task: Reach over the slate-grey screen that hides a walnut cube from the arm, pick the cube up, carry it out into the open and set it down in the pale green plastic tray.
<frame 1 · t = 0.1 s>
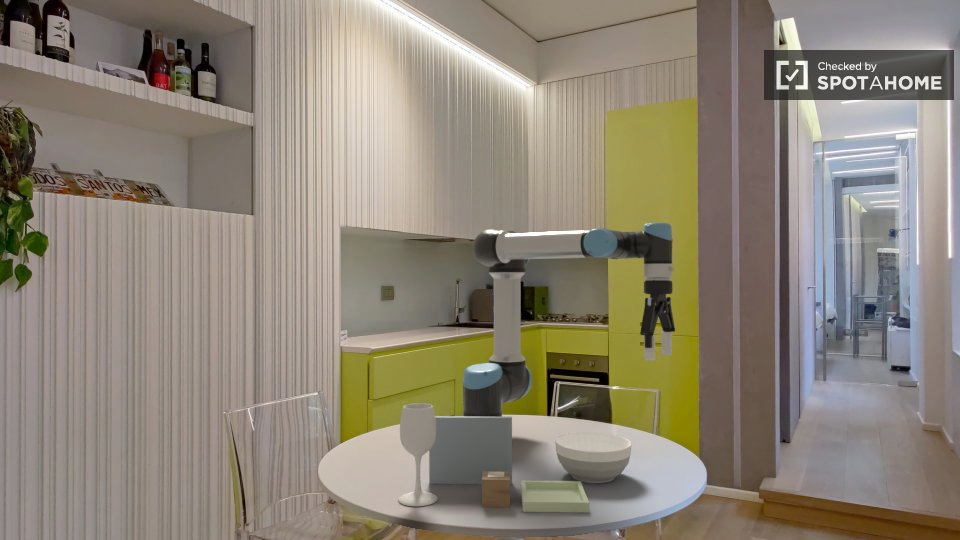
hand: (658, 357, 170), 28 cm above the table, fingers open, 13 cm apart
bowl: (593, 477, 157), on the table
wineglass: (418, 500, 140), on the table
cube: (496, 502, 139), on the table
tray: (553, 500, 140), on the table
screen: (470, 483, 151), on the table
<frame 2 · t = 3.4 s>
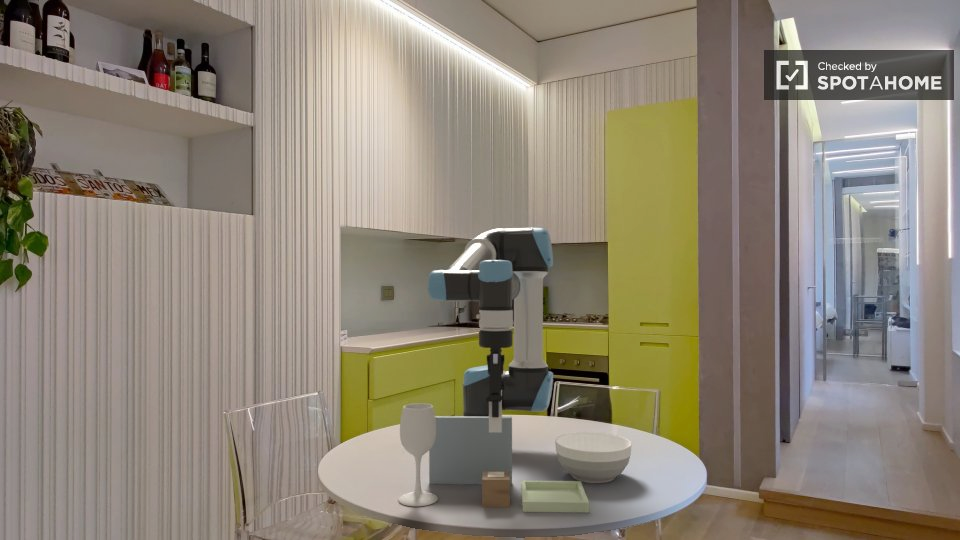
hand: (495, 424, 139), 17 cm above the table, fingers open, 13 cm apart
nothing on the table moved.
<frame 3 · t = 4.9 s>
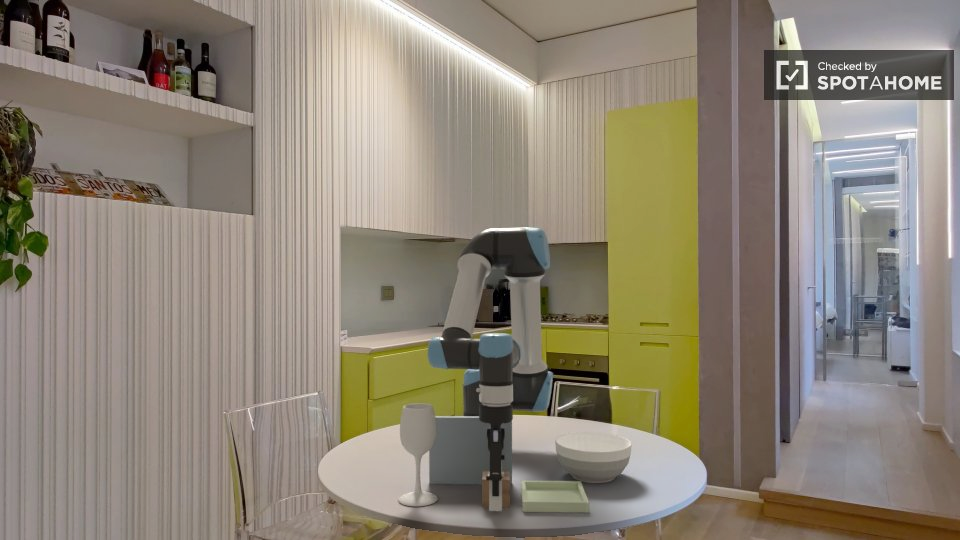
hand: (495, 499, 139), 1 cm above the table, fingers open, 13 cm apart
nothing on the table moved.
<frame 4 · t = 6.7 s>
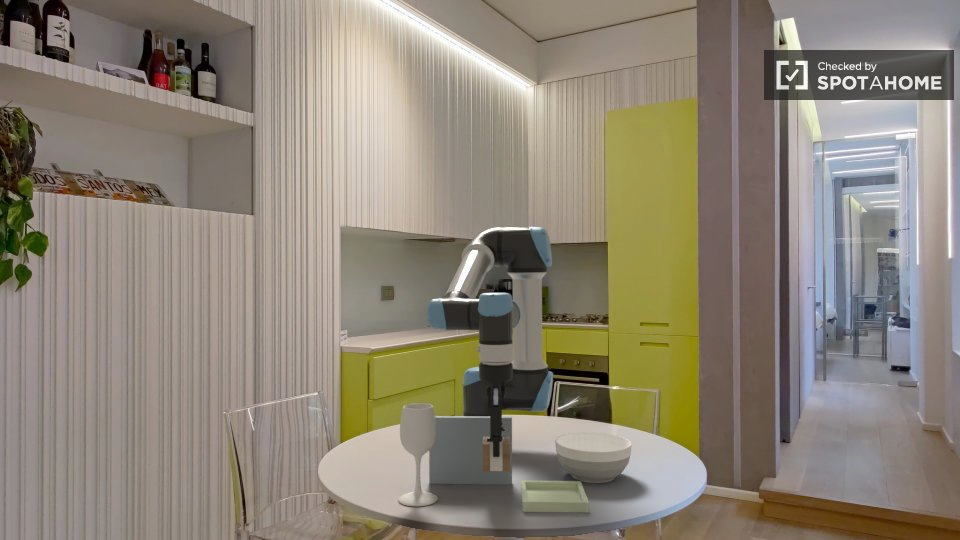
hand: (496, 465, 139), 8 cm above the table, fingers closed on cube, 6 cm apart
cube: (496, 467, 139), point 8 cm above the table, touching gripper
everything else where it was.
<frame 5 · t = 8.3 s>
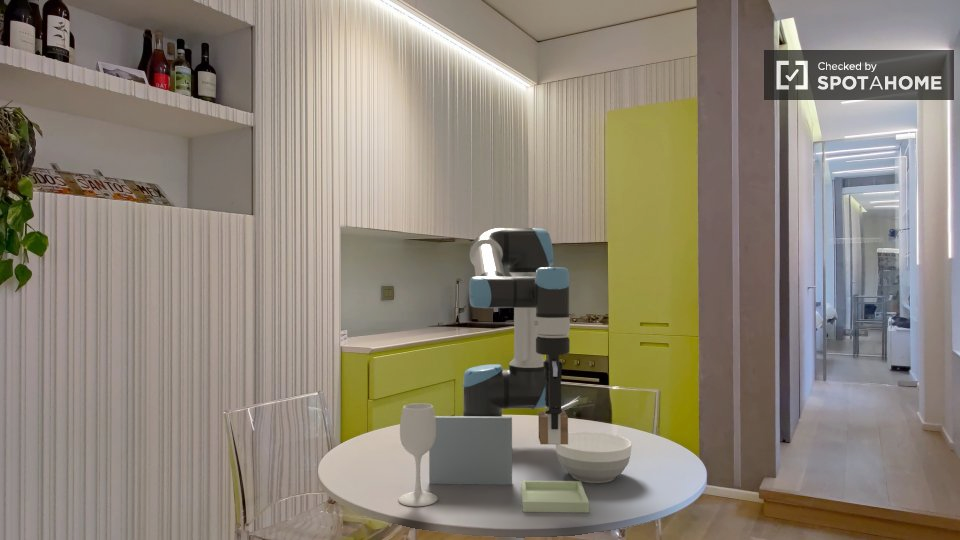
hand: (552, 439, 140), 14 cm above the table, fingers closed on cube, 6 cm apart
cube: (553, 440, 140), point 13 cm above the table, touching gripper
everything else where it was.
when the fingers open (3 cm above the table, at t = 10.1 s): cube drops 2 cm, resting on tray.
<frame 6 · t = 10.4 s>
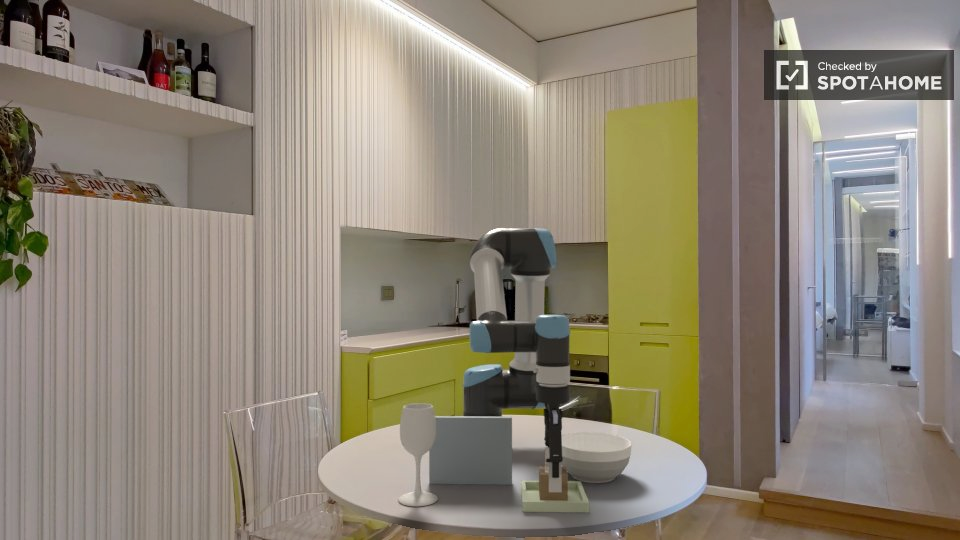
hand: (553, 483, 140), 4 cm above the table, fingers open, 10 cm apart
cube: (553, 497, 140), point 1 cm above the table, touching tray
everything else where it was.
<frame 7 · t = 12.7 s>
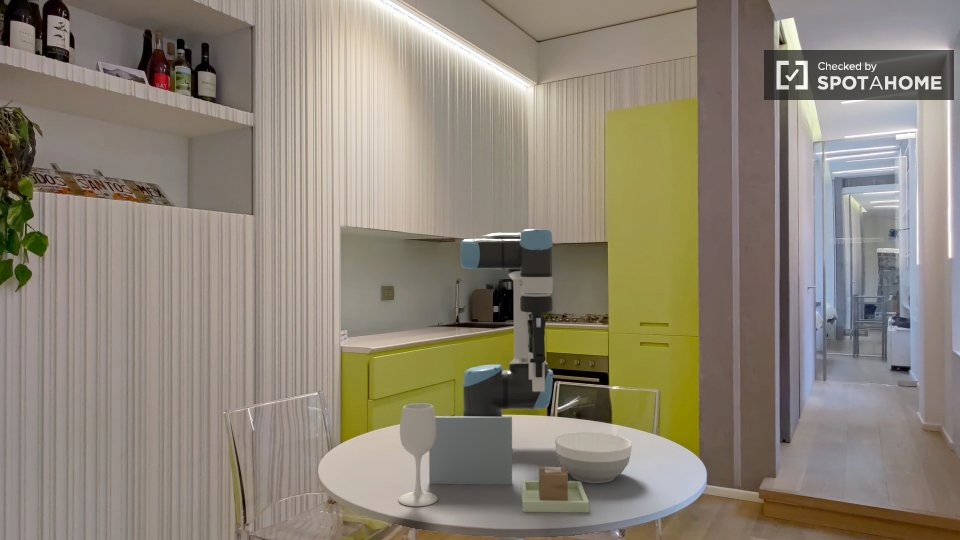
hand: (536, 385, 147), 24 cm above the table, fingers open, 13 cm apart
nothing on the table moved.
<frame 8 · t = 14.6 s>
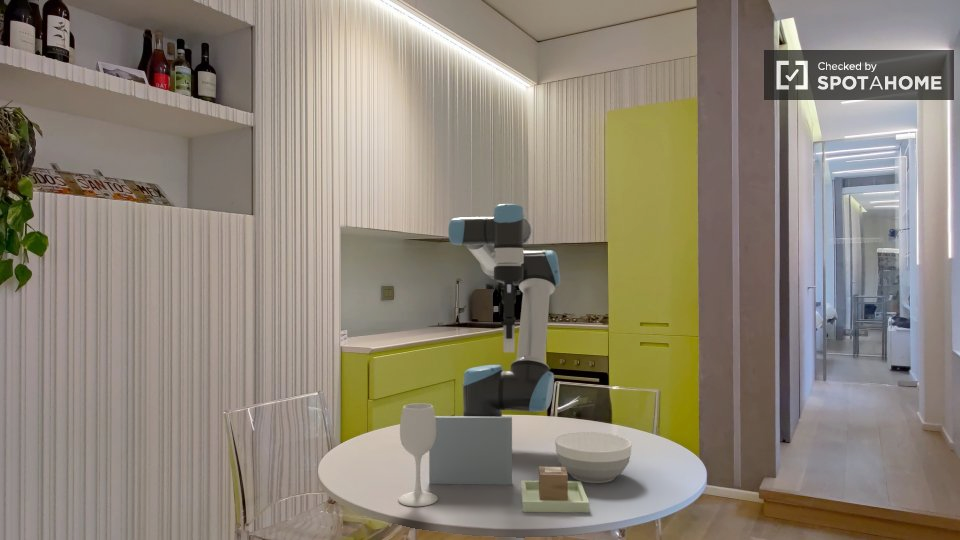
hand: (508, 349, 158), 32 cm above the table, fingers open, 13 cm apart
nothing on the table moved.
at the end: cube inside the target area on the tray (0.0 cm from its centre), point 0.6 cm above the tray's base; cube tilted 0°; the gripper is holding nothing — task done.
